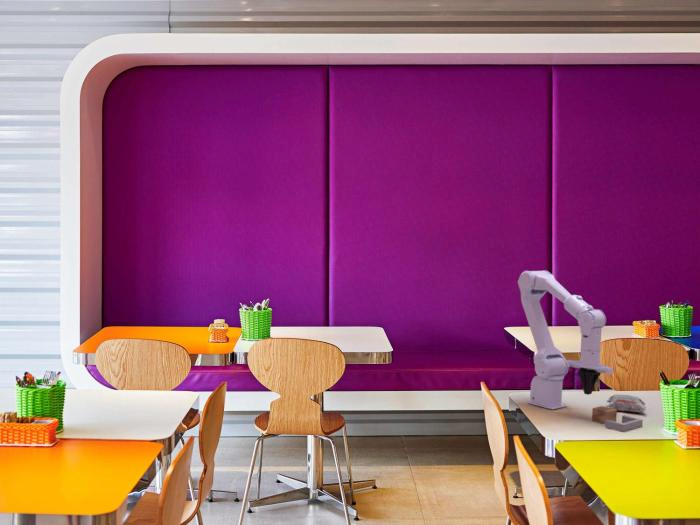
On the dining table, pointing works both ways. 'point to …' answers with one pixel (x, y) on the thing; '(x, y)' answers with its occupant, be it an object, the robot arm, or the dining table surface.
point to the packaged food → (626, 403)
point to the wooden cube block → (603, 414)
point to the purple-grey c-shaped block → (624, 423)
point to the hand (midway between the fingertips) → (587, 393)
